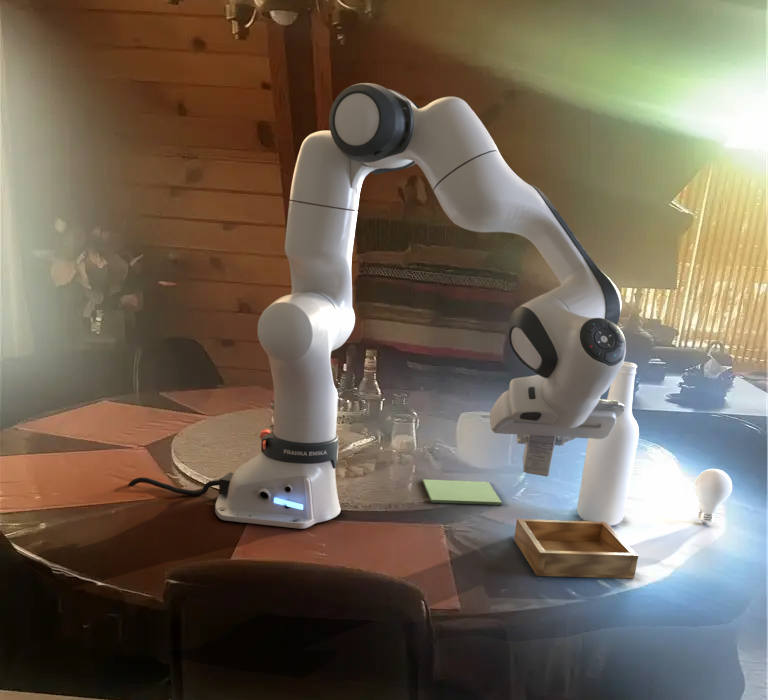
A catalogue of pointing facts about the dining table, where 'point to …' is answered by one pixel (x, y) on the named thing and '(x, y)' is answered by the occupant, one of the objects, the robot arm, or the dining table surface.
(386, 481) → the dining table surface
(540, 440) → the medicine box
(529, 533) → the tray
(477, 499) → the mat
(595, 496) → the alcohol
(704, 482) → the light bulb
